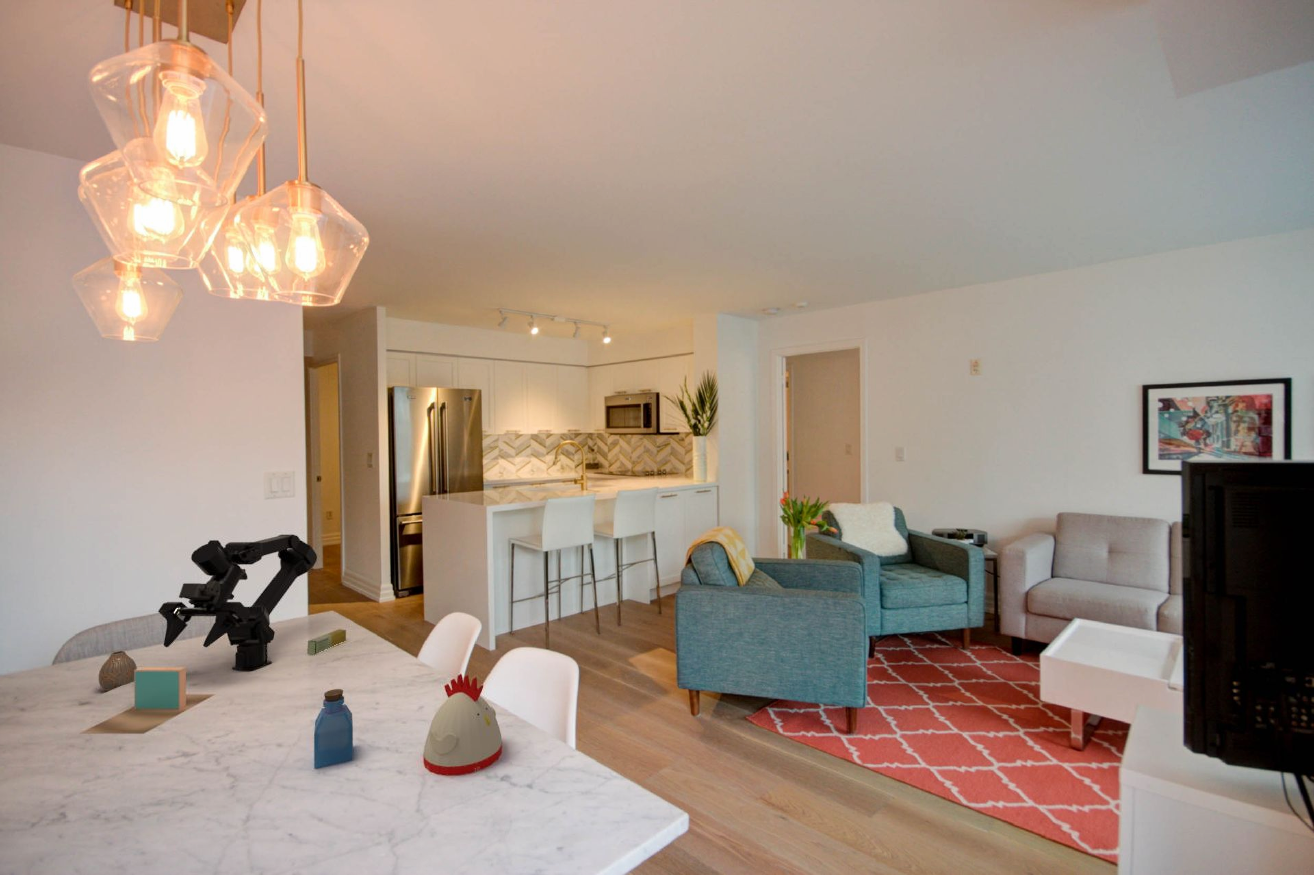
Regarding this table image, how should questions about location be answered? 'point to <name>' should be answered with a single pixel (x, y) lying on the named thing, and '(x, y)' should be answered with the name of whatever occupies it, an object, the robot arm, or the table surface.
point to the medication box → (326, 641)
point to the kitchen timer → (462, 732)
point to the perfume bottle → (333, 731)
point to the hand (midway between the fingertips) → (185, 646)
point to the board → (143, 718)
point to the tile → (160, 688)
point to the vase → (117, 671)
